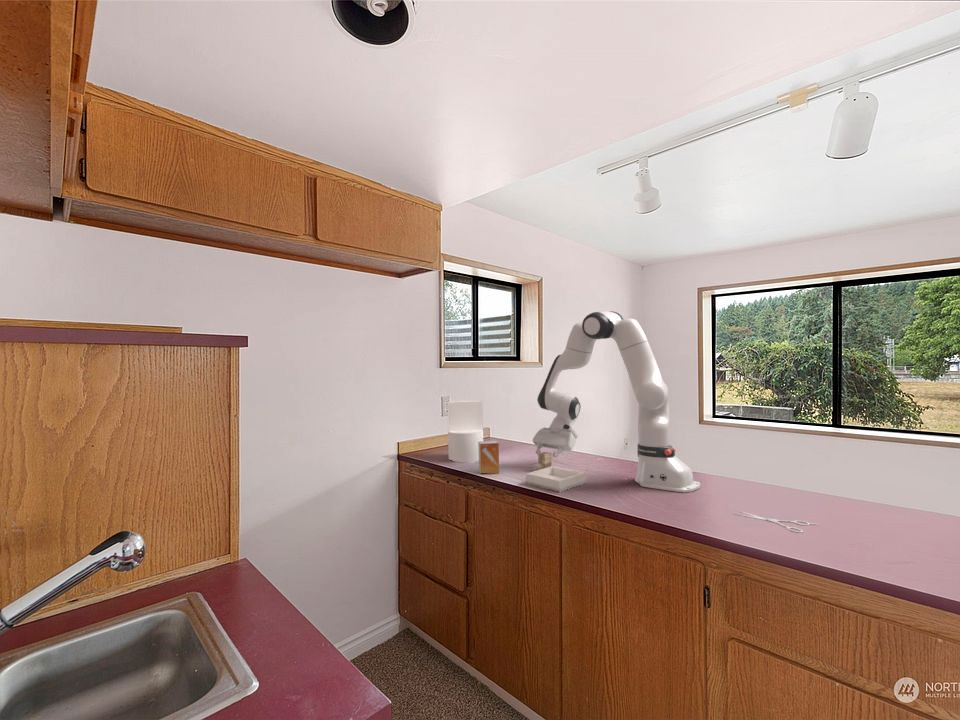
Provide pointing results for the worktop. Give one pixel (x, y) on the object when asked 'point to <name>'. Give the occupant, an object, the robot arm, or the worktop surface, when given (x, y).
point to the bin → (555, 478)
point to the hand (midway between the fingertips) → (545, 454)
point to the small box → (488, 456)
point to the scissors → (781, 521)
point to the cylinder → (464, 429)
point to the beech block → (544, 460)
